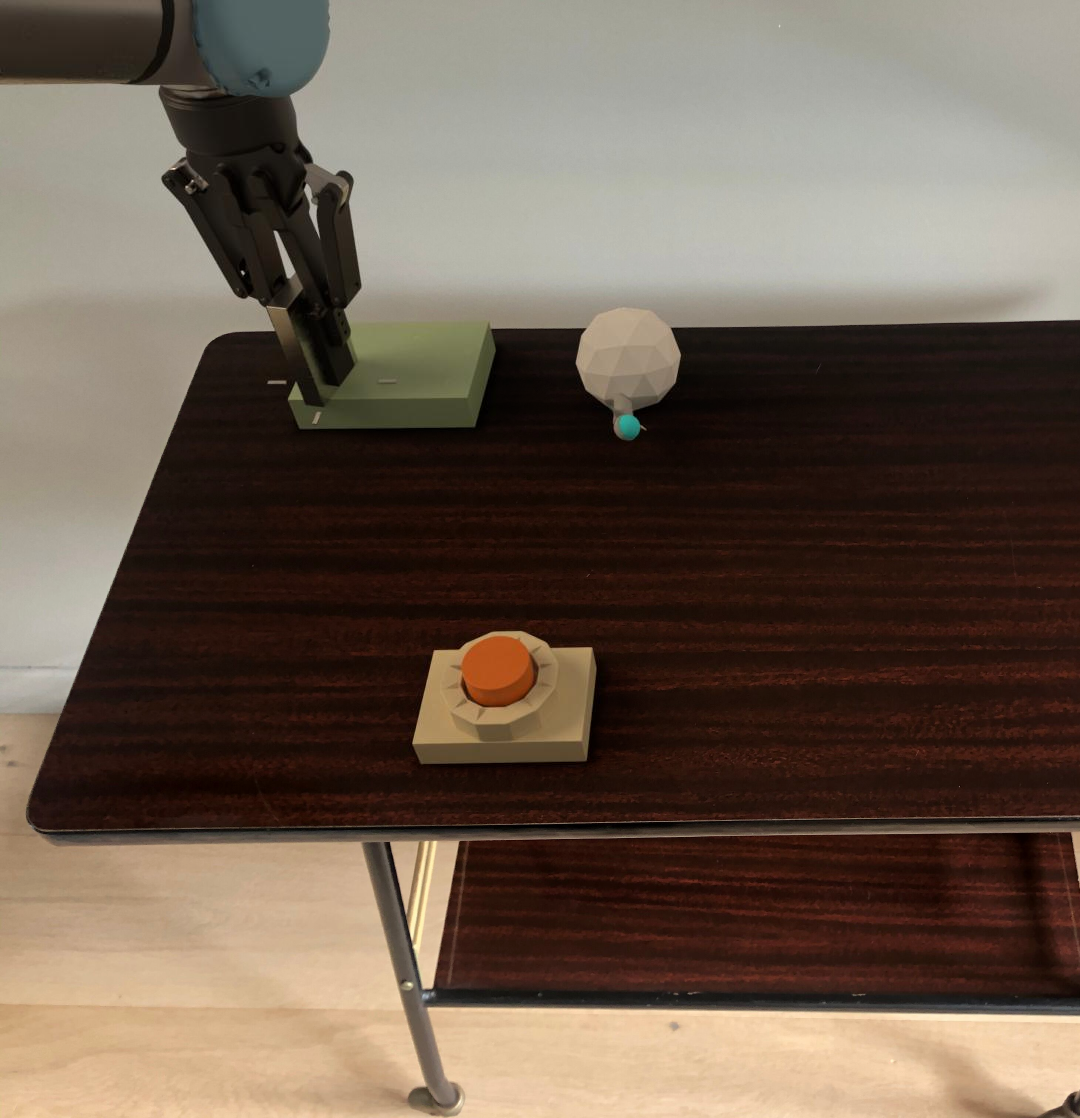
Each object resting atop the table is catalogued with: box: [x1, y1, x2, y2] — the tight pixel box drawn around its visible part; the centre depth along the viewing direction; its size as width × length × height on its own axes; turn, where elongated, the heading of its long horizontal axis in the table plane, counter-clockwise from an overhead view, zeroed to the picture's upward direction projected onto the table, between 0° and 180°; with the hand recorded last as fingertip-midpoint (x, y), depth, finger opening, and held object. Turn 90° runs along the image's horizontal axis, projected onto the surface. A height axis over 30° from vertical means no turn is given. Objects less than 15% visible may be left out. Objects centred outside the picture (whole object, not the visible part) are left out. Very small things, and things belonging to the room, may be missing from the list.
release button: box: [461, 636, 534, 707], centre depth 67 cm, size 4×4×2 cm
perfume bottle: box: [575, 306, 682, 441], centre depth 87 cm, size 8×8×12 cm
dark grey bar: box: [266, 271, 358, 407], centre depth 85 cm, size 6×2×9 cm, turn 168°
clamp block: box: [267, 320, 497, 430], centre depth 91 cm, size 16×13×3 cm
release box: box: [412, 630, 598, 765], centre depth 69 cm, size 10×7×4 cm
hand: (328, 373), depth 88 cm, fingers closed on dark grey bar, 2 cm apart
